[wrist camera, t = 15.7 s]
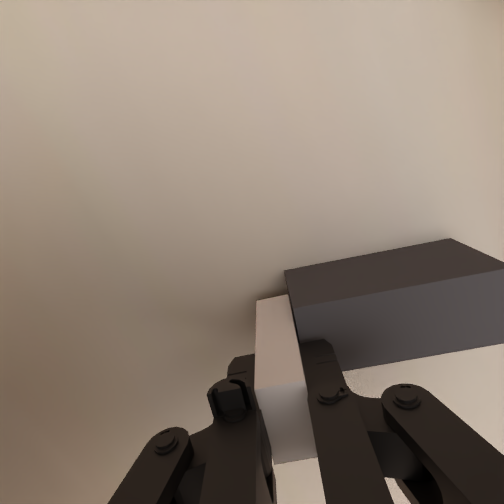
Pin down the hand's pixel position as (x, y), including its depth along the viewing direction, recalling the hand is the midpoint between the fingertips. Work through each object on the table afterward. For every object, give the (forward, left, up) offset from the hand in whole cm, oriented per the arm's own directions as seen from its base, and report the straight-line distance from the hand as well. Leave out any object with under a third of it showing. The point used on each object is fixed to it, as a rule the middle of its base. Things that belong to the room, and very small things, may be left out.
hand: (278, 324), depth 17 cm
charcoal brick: (+5, 0, -2) cm, 5 cm away
